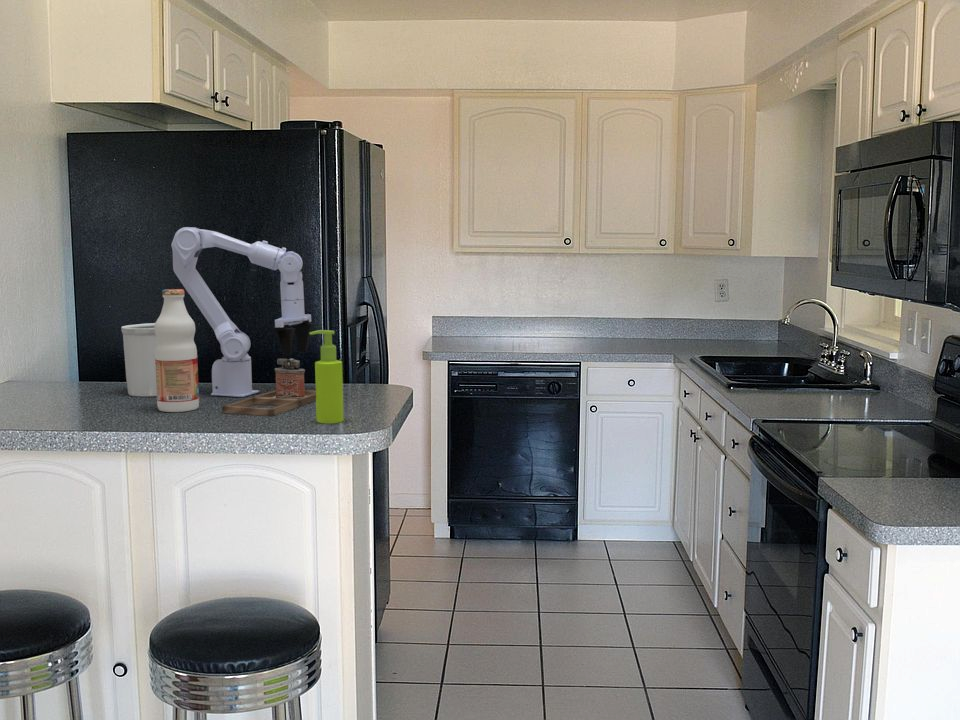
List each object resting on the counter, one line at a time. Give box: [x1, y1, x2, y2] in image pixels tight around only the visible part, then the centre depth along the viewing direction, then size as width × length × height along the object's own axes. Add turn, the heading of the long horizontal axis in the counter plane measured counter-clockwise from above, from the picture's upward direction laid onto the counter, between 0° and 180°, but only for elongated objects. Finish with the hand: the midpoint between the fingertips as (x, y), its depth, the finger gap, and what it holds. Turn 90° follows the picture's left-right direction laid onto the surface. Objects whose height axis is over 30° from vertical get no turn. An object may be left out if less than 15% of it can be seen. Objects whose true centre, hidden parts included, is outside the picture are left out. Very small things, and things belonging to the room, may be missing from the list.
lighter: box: [274, 358, 306, 399], centre depth 242 cm, size 8×3×10 cm, turn 68°
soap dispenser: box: [309, 329, 344, 424], centre depth 215 cm, size 6×7×20 cm
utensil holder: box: [120, 322, 157, 398], centre depth 253 cm, size 15×15×18 cm
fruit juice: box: [154, 288, 200, 413], centre depth 229 cm, size 9×9×28 cm
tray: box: [221, 389, 316, 417], centre depth 236 cm, size 13×26×2 cm, turn 161°
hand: (295, 352), depth 252 cm, fingers open, 7 cm apart
